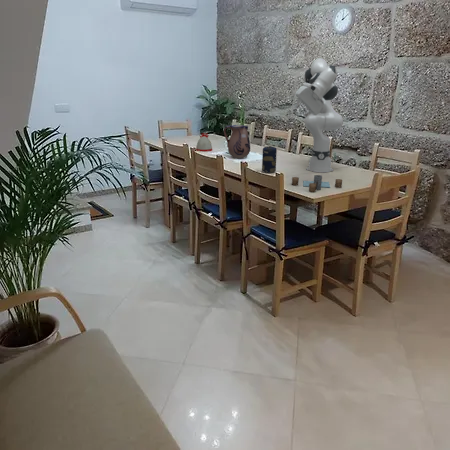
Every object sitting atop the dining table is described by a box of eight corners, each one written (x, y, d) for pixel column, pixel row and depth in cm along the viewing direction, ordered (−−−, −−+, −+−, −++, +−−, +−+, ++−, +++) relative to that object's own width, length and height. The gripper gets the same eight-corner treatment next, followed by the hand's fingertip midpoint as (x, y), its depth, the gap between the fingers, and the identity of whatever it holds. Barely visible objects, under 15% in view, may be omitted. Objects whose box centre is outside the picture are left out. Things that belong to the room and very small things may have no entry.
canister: (278, 172, 294) (279, 146, 288) (270, 174, 288) (271, 147, 281) (267, 169, 300) (268, 144, 294) (259, 172, 293) (260, 146, 287)
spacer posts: (291, 183, 265) (292, 176, 263) (341, 186, 260) (342, 179, 259) (291, 191, 249) (291, 183, 247) (344, 194, 245) (345, 186, 243)
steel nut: (313, 187, 257) (314, 174, 254) (320, 188, 256) (321, 175, 253) (313, 190, 252) (314, 176, 249) (320, 190, 252) (322, 177, 249)
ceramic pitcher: (250, 160, 331) (251, 127, 322) (223, 159, 331) (223, 127, 323) (249, 155, 347) (250, 124, 339) (223, 155, 348) (224, 124, 339)
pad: (303, 181, 270) (303, 180, 270) (328, 182, 268) (328, 181, 268) (303, 186, 259) (303, 185, 259) (330, 187, 257) (330, 186, 257)
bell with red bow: (209, 152, 361) (209, 134, 356) (194, 151, 364) (193, 133, 359) (213, 149, 374) (213, 131, 369) (198, 148, 377) (198, 131, 372)
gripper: (321, 102, 258) (307, 120, 260) (303, 80, 245) (288, 100, 247) (328, 104, 253) (313, 123, 255) (309, 82, 241) (294, 102, 242)
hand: (300, 111), depth 251 cm, fingers open, 8 cm apart
